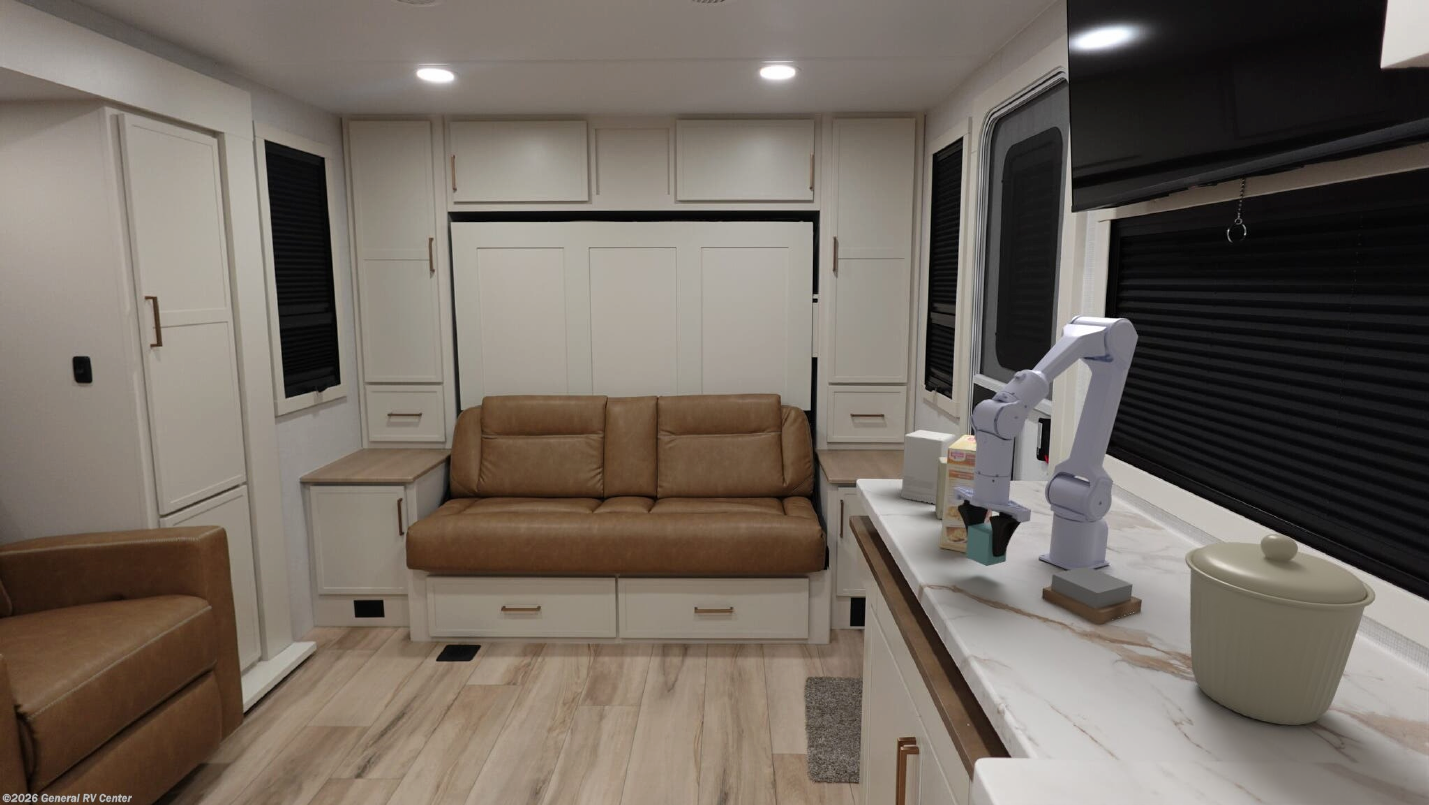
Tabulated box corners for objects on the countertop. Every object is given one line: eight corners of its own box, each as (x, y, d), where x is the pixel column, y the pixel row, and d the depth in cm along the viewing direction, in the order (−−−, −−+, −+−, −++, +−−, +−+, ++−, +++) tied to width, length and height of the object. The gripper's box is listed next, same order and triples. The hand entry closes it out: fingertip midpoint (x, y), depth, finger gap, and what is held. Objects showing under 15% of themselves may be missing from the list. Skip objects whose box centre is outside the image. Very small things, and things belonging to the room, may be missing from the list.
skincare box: (958, 521, 159) (962, 464, 157) (937, 519, 159) (941, 463, 157) (955, 512, 165) (959, 457, 163) (934, 510, 166) (938, 456, 164)
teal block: (984, 552, 131) (986, 522, 130) (1005, 561, 127) (1008, 530, 126) (965, 557, 129) (968, 526, 128) (986, 566, 125) (989, 534, 124)
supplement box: (952, 497, 176) (957, 434, 174) (937, 505, 169) (942, 440, 167) (916, 489, 182) (920, 428, 179) (900, 497, 175) (904, 434, 172)
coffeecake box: (977, 555, 139) (986, 452, 136) (938, 548, 142) (945, 447, 139) (992, 532, 152) (1000, 437, 149) (956, 526, 155) (963, 433, 152)
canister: (1141, 661, 101) (1160, 509, 98) (1278, 665, 101) (1302, 513, 97) (1227, 743, 84) (1253, 561, 80) (1394, 749, 83) (1429, 567, 80)
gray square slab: (1085, 580, 124) (1086, 566, 123) (1130, 599, 117) (1132, 584, 116) (1051, 589, 120) (1052, 574, 120) (1095, 609, 113) (1097, 593, 113)
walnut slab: (1081, 591, 126) (1083, 577, 125) (1140, 615, 117) (1141, 600, 117) (1041, 603, 121) (1042, 588, 120) (1099, 628, 112) (1100, 612, 112)
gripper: (942, 465, 130) (937, 541, 132) (1011, 486, 117) (1005, 569, 119) (971, 461, 133) (966, 534, 135) (1042, 481, 121) (1035, 562, 123)
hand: (986, 550), depth 128 cm, fingers closed on teal block, 4 cm apart
